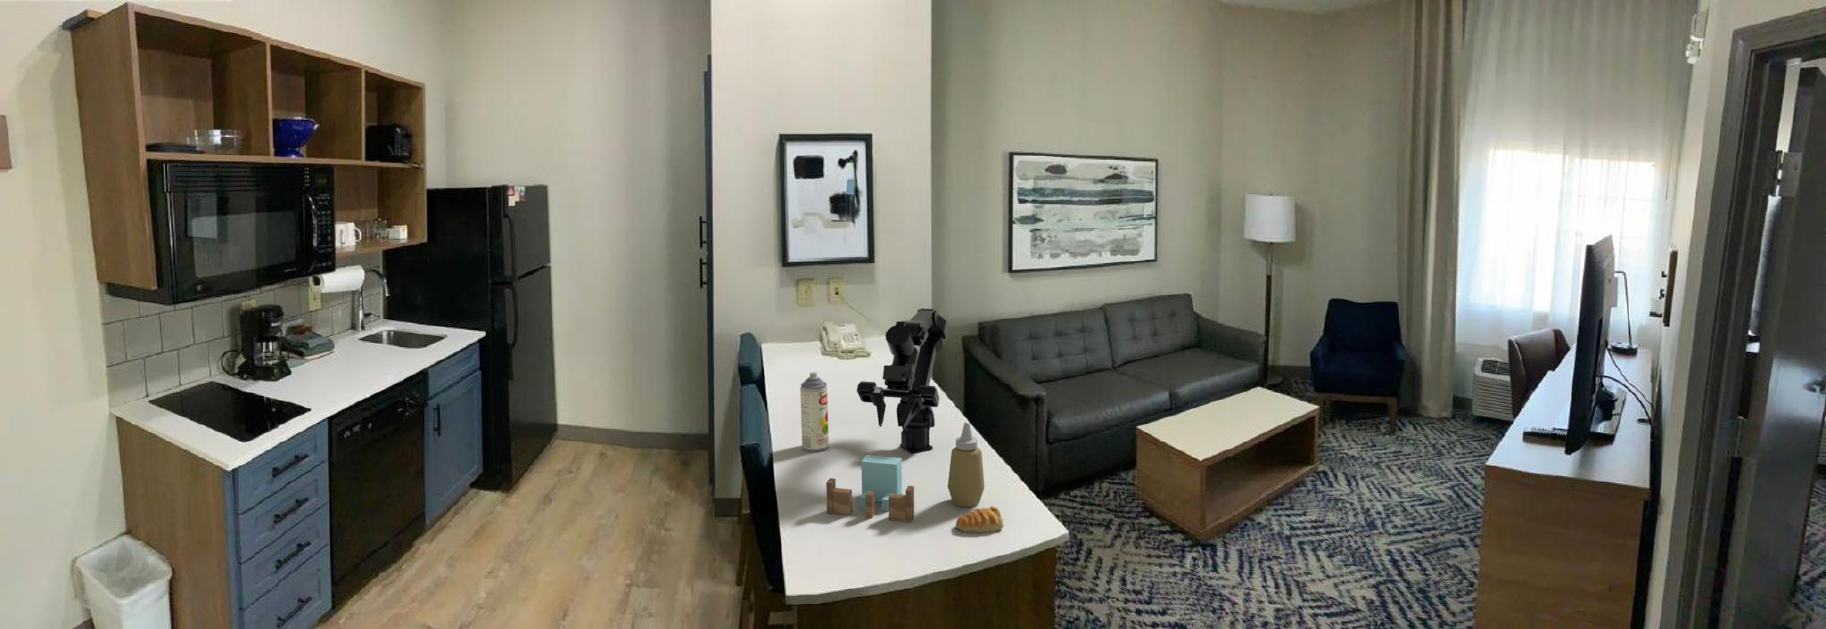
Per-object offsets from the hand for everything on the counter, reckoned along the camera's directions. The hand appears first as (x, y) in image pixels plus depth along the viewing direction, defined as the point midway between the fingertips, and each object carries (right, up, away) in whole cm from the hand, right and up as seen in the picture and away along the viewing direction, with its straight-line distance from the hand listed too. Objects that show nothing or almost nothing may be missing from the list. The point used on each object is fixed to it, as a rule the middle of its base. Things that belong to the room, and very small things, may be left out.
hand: (891, 426), depth 187 cm
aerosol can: (-20, -9, +26) cm, 34 cm away
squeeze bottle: (+16, -16, -8) cm, 24 cm away
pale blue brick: (-2, -15, -7) cm, 17 cm away
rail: (-4, -17, -14) cm, 22 cm away
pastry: (+19, -18, -19) cm, 32 cm away
